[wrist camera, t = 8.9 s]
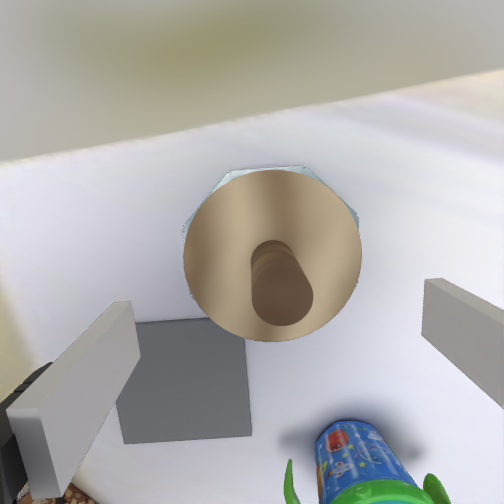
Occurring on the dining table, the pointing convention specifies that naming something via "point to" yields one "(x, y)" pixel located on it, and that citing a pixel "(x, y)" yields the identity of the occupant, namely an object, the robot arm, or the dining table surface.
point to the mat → (185, 384)
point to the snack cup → (363, 471)
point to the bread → (60, 498)
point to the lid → (272, 255)
